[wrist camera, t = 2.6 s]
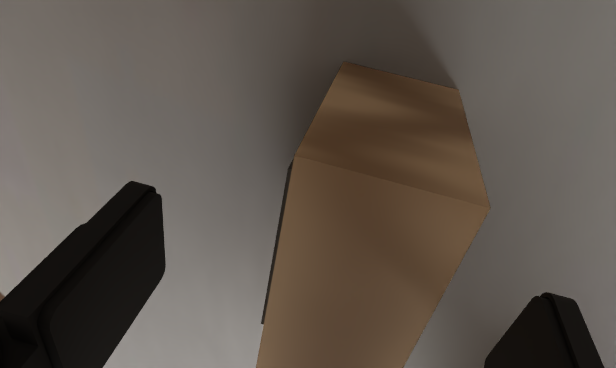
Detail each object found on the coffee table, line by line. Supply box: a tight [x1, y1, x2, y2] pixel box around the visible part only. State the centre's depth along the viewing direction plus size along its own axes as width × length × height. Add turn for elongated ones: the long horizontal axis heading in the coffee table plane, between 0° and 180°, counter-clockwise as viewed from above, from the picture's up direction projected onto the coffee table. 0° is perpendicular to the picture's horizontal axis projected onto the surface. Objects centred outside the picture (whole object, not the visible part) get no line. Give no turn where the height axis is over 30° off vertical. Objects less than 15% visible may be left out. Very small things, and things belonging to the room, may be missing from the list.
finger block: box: [256, 62, 490, 368], centre depth 13 cm, size 4×8×7 cm, turn 170°
